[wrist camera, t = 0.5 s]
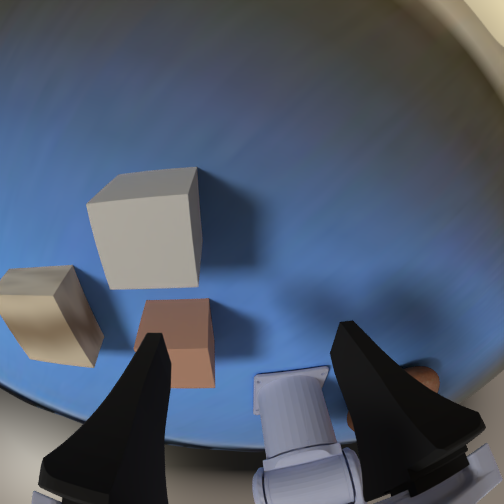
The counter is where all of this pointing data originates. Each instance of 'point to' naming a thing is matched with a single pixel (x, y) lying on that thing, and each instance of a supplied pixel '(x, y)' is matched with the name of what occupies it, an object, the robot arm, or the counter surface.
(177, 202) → the grey block
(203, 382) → the terracotta cube
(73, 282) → the birch plinth
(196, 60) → the counter surface
